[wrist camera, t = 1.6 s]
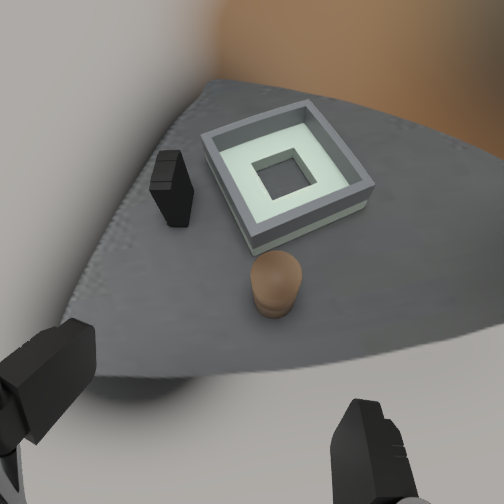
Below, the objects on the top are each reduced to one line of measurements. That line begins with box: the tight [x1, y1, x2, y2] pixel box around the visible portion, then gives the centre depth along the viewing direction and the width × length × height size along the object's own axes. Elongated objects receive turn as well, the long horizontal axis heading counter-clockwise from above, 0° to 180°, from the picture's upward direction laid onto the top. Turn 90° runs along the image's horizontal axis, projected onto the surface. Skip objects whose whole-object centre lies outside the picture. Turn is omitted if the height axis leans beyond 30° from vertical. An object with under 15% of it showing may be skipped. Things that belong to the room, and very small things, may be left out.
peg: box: [250, 250, 302, 318], centre depth 29 cm, size 4×4×8 cm
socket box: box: [200, 99, 376, 257], centre depth 35 cm, size 14×14×5 cm
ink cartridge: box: [149, 150, 194, 226], centre depth 33 cm, size 5×2×8 cm, turn 176°
